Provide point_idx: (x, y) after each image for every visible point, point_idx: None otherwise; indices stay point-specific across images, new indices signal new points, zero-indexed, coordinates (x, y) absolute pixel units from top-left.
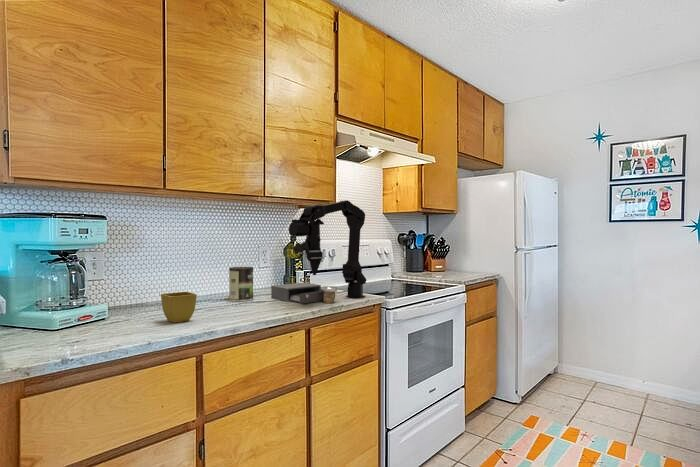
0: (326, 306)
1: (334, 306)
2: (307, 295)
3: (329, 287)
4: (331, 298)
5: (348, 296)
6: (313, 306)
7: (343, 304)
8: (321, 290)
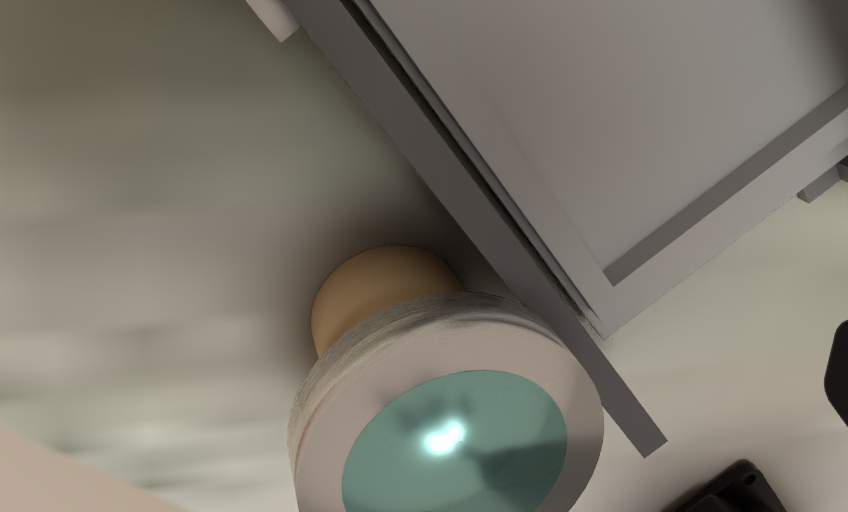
0: (34, 313)
1: (46, 417)
2: (260, 16)
3: (391, 489)
4: None
5: (707, 495)
6: (10, 109)
7: (220, 499)
8: (382, 322)
